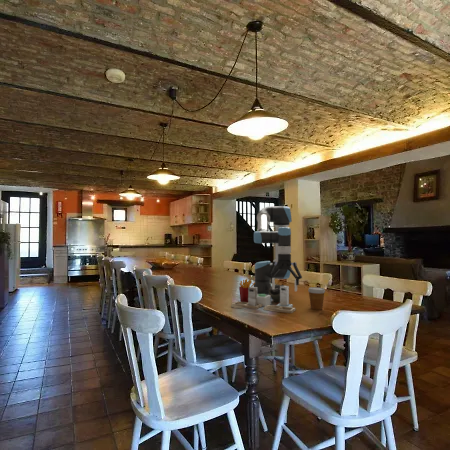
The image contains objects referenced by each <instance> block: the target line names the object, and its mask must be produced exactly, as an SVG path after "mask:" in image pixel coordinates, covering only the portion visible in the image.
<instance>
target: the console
mask: <svg viewBox="0 0 450 450" xmlns="http://www.w3.org/2000/svg"><path fill="white" fill-rule="evenodd" d="M271 300H272V299H271V295H269V294H266V297H260V296H258V294H257V304H262V307H266V306H267V305H272V303H271Z"/></svg>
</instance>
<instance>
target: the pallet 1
mask: <svg viewBox="0 0 450 450" xmlns="http://www.w3.org/2000/svg"><path fill="white" fill-rule="evenodd" d="M257 295H258V294H257V287H251V286H250V287H249V288H248V302H240V301H235V302H233V303H231V308H236V309H241V310H242V309H244V308H246V309H253V310H258V309H260V308H262V307H263V306H262V304H257Z"/></svg>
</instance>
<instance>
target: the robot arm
mask: <svg viewBox="0 0 450 450" xmlns="http://www.w3.org/2000/svg"><path fill="white" fill-rule="evenodd" d="M256 221H257V231H254V232H253V242H254V243H255V244H275V248H274V249H275V252H274V253H275V254H274V255H275V259H273V261H272V262H271V261H270V260H264V261H263V260H262V261H258V262H256V263H254V282H255V284H254V285H253V287H257V295H258V294H266V295H269V289H270V288H271V287H272V289H275V285H276V281H275V280H280V279H281V280H288V279H289V278H290V277H291V275H292V276H293V278H294V292H297V291H298V286H299V285H300V280H302V279H303V276H302V274H301V272H300V270H299V268H298V264H297V262H296V261H295V262H292V254H291V253H292V245H291V244H292V230H291V229H292V228H291V227H289V226H290V224H291V223H292V212H291V207H289V206H284V205H279V206H271V205H270V206H269V205H268V206H265V207H263V208H261V209H260V210H259V211H258V212H257V215H256ZM270 223H273V226H274V227H275V231H274V230H273V231H271V230H270ZM292 266H293V268H294V270H295V271H294V270H293V268H292Z"/></svg>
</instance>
